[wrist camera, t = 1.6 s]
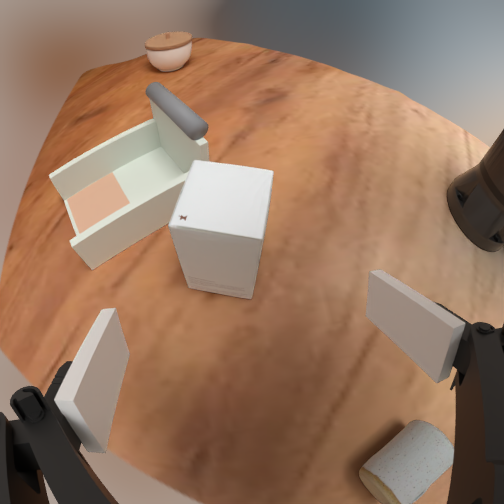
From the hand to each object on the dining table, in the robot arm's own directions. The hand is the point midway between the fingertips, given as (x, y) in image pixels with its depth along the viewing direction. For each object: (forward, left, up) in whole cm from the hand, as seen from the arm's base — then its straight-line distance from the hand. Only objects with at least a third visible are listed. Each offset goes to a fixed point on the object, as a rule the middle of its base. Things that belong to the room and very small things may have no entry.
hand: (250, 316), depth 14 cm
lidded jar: (-23, -60, -17) cm, 66 cm away
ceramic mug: (-5, +22, -17) cm, 28 cm away
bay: (0, -26, -17) cm, 31 cm away
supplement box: (-5, -10, -17) cm, 20 cm away
